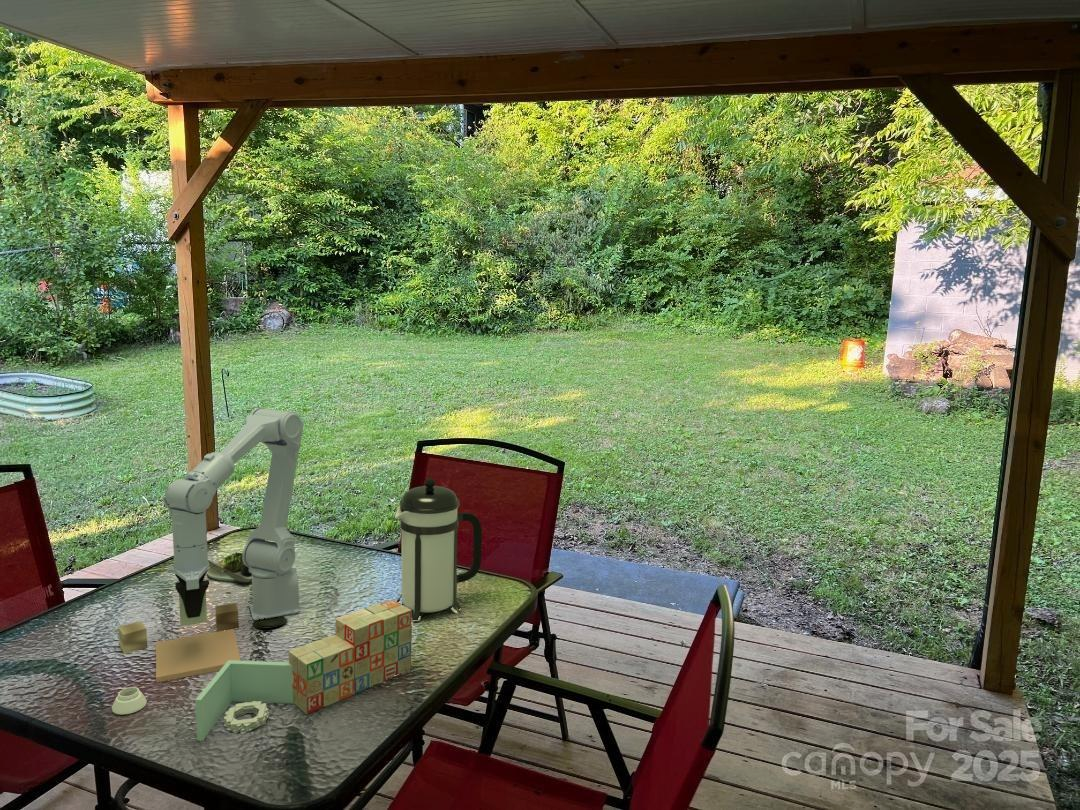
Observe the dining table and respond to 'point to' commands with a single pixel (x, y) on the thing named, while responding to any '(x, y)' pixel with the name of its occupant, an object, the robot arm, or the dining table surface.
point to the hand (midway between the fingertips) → (193, 611)
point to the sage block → (195, 620)
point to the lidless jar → (129, 701)
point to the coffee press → (433, 548)
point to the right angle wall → (243, 695)
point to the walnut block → (226, 617)
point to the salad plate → (230, 569)
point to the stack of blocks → (352, 656)
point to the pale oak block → (132, 637)
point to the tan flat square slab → (195, 655)
